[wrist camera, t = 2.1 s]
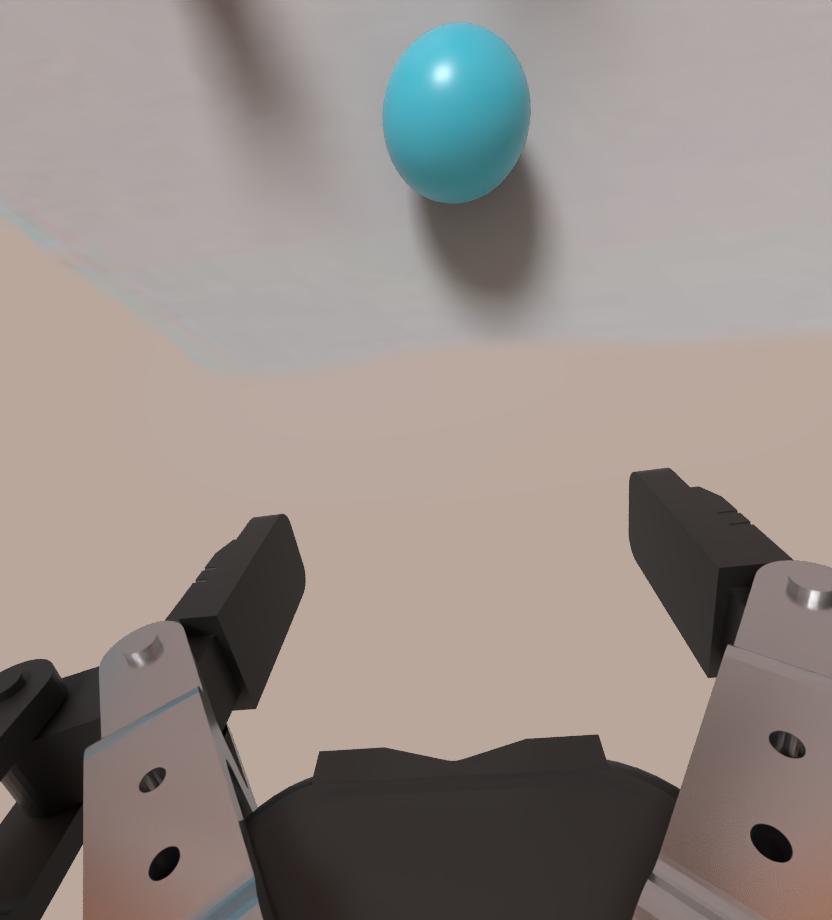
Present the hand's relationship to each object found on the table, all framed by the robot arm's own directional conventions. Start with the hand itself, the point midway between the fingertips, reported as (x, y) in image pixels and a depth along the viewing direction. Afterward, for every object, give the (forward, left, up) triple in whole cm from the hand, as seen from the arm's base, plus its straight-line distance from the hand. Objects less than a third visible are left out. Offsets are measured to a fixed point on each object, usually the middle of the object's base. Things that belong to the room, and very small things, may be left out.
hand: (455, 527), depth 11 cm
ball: (-4, -10, -14) cm, 18 cm away
